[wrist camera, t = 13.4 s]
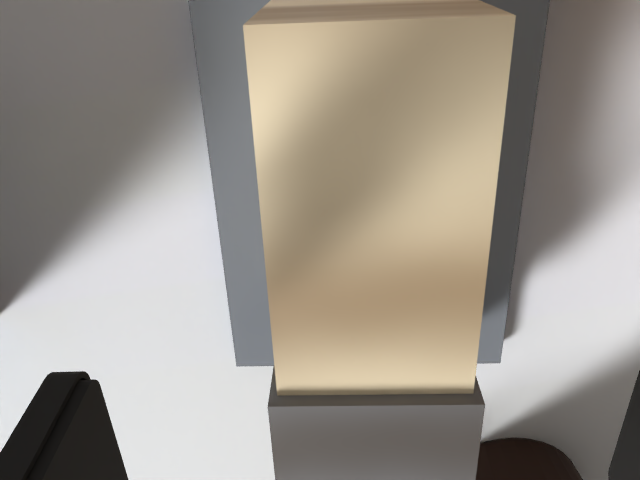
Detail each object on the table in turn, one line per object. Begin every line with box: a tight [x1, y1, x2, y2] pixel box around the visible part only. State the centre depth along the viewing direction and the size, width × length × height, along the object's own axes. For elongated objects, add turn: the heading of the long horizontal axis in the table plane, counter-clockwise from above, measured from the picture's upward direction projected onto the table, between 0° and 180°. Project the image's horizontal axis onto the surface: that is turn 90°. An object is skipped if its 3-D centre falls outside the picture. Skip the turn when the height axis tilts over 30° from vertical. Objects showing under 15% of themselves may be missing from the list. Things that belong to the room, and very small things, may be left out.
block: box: [243, 0, 516, 480], centre depth 16 cm, size 12×5×6 cm, turn 2°
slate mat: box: [189, 0, 550, 366], centre depth 19 cm, size 13×10×1 cm
